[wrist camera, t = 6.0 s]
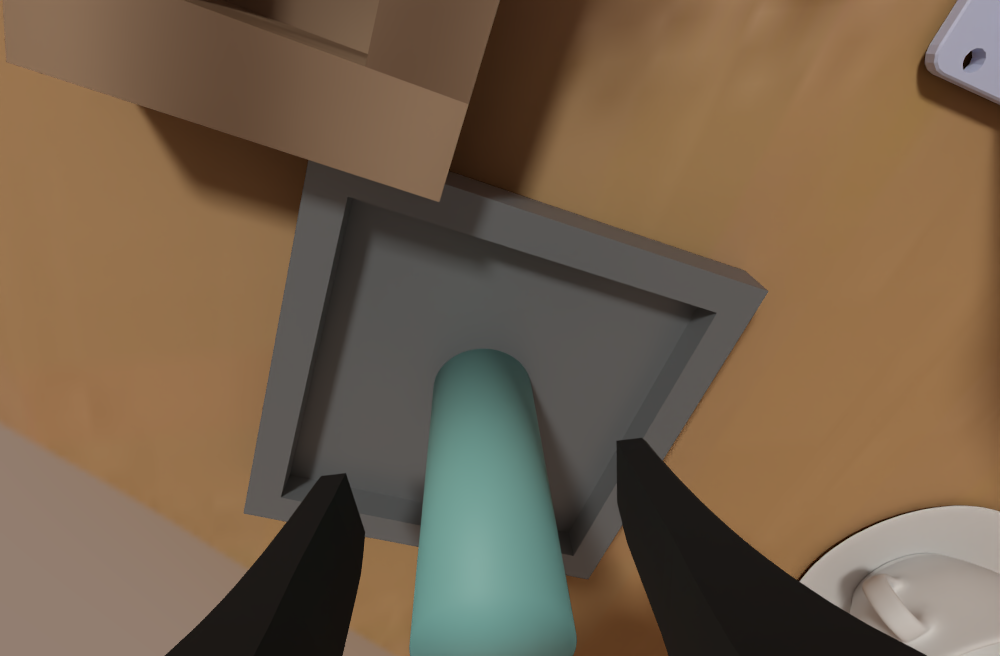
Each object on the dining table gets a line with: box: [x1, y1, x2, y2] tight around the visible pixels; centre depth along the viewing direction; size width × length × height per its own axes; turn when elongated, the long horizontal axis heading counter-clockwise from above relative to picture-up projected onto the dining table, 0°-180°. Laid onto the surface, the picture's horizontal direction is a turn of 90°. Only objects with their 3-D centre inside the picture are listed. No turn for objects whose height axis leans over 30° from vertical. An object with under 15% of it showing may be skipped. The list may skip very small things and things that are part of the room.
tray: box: [244, 160, 768, 579], centre depth 17 cm, size 12×12×1 cm
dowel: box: [409, 349, 577, 656], centre depth 13 cm, size 3×3×8 cm
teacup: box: [800, 506, 1000, 656], centre depth 21 cm, size 10×10×5 cm
